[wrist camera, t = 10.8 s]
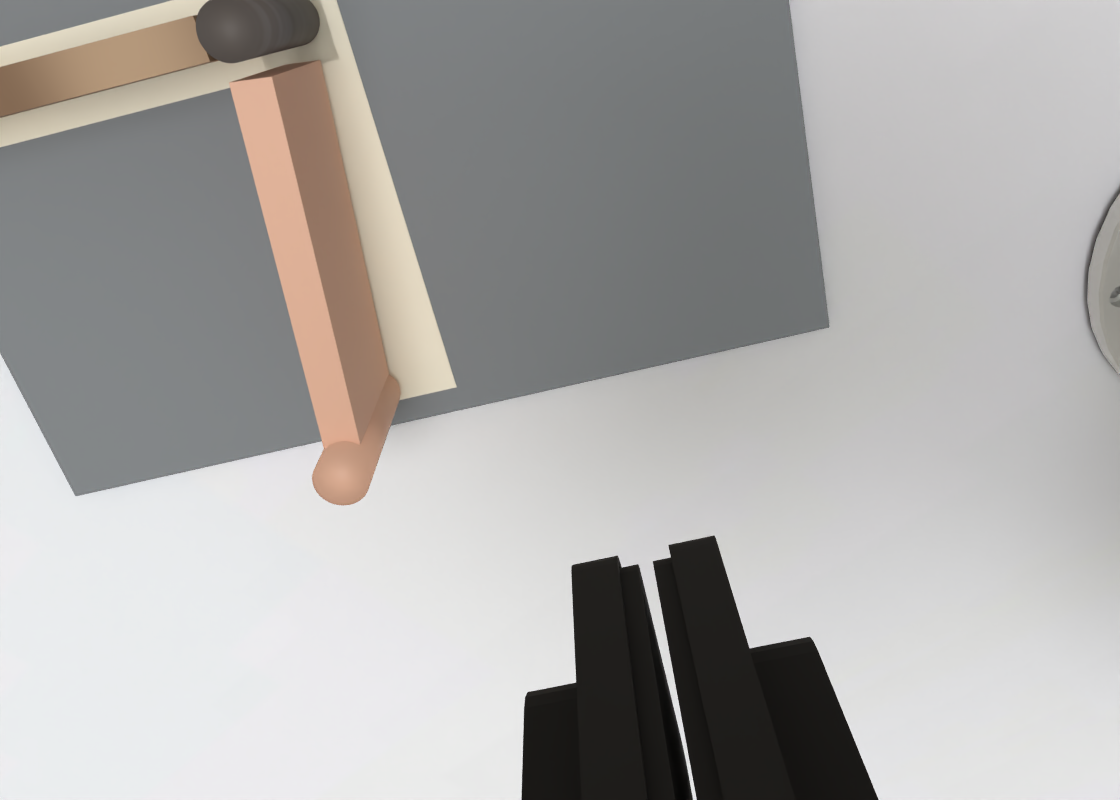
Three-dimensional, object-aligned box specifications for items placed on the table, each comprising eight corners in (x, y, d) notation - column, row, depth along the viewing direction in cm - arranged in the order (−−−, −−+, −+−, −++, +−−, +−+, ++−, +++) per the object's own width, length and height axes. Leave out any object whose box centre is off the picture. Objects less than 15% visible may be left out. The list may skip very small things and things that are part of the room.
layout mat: (739, -373, 27) (741, -378, 26) (826, 323, 36) (829, 327, 35) (-225, -94, 29) (-236, -95, 29) (79, 491, 38) (75, 496, 38)
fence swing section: (275, 65, 31) (206, 87, 25) (329, 58, 31) (272, 78, 24) (359, 415, 36) (319, 508, 30) (404, 409, 36) (374, 501, 30)
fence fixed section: (309, -15, 30) (243, -15, 24) (327, 42, 31) (268, 58, 24) (-112, 97, 31) (-286, 128, 25) (-85, 149, 32) (-246, 193, 26)
